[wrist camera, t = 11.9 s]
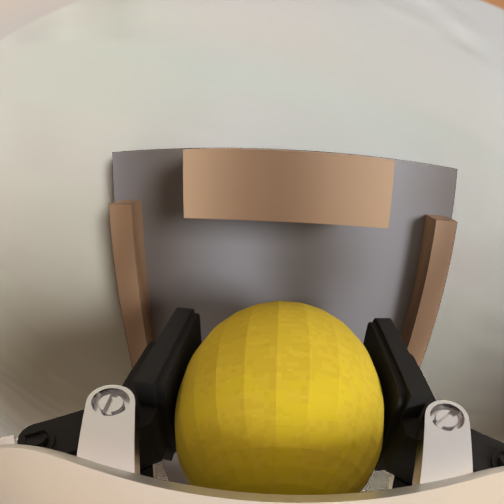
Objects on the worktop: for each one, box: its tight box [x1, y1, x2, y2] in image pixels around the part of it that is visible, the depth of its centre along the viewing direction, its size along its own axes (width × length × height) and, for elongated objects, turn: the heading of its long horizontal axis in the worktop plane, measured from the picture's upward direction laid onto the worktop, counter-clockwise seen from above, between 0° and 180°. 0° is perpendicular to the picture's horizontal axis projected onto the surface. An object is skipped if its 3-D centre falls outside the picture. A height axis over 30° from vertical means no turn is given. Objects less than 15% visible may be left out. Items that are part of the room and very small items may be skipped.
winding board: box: [109, 148, 457, 485], centre depth 14 cm, size 14×24×4 cm, turn 179°
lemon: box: [175, 301, 384, 495], centre depth 8 cm, size 6×6×8 cm
